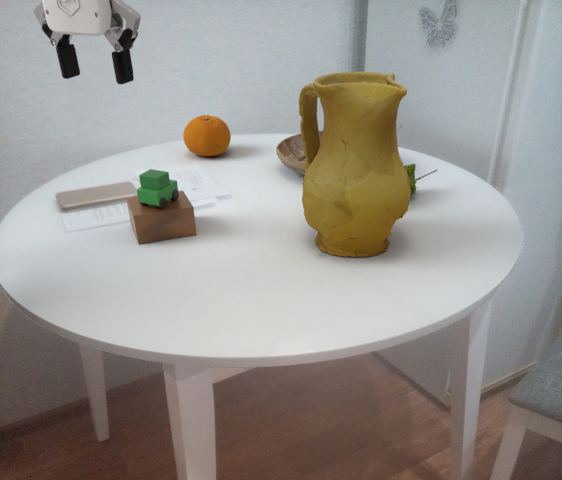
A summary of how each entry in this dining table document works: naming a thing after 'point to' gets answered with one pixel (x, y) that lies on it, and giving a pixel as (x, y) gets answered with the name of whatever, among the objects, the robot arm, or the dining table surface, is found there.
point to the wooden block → (162, 219)
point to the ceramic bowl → (293, 153)
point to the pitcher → (353, 162)
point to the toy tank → (413, 176)
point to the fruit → (207, 136)
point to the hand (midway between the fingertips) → (98, 79)
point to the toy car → (157, 188)
